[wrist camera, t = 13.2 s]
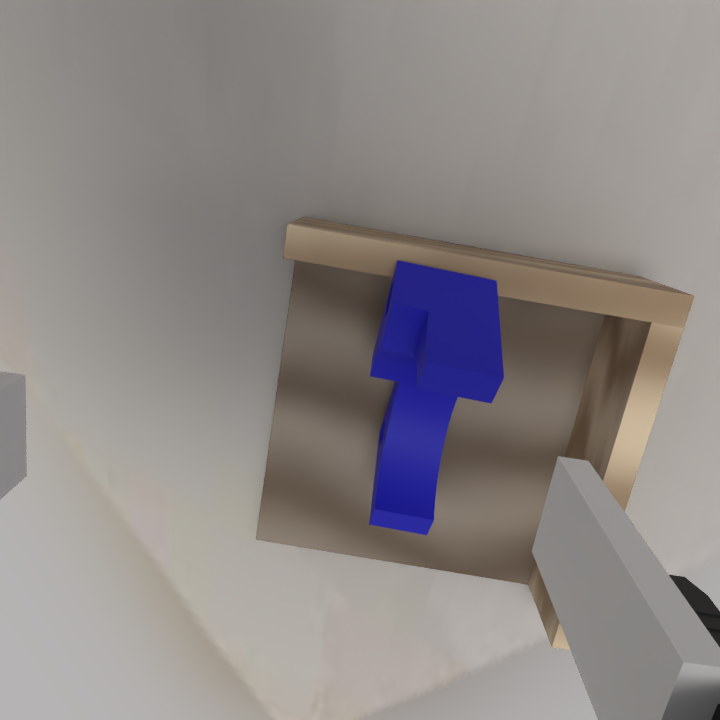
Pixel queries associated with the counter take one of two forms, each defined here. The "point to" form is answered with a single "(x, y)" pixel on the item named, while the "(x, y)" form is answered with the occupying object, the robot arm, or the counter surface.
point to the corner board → (460, 401)
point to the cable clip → (429, 382)
